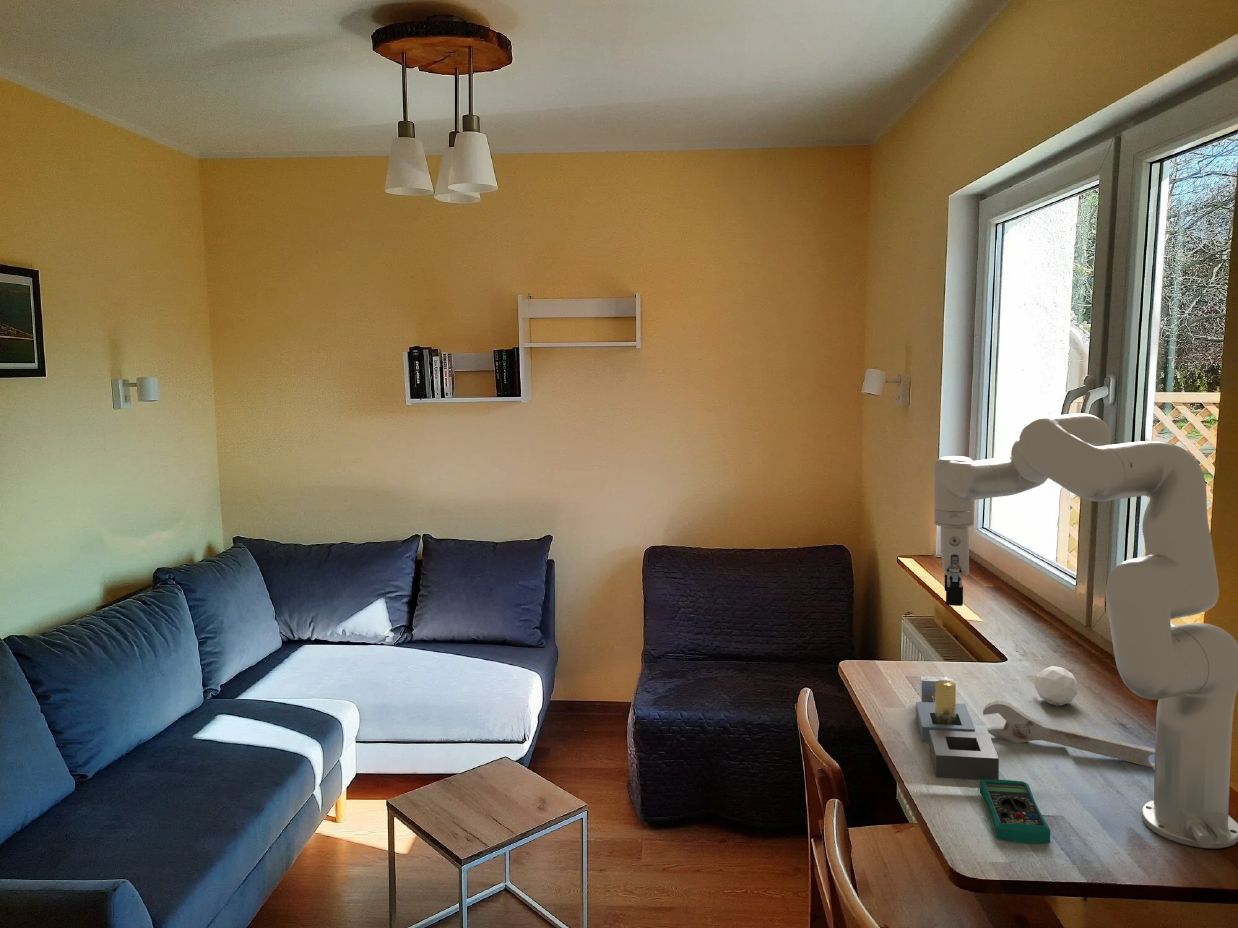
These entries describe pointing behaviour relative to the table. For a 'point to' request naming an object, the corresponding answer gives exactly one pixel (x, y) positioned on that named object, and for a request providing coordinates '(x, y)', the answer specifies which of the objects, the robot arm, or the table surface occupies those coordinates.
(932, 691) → the plug block
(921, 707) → the socket block
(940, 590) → the table surface
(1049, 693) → the ball
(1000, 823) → the digital multimeter
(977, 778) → the grey slotted block
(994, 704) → the wrench
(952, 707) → the peg
